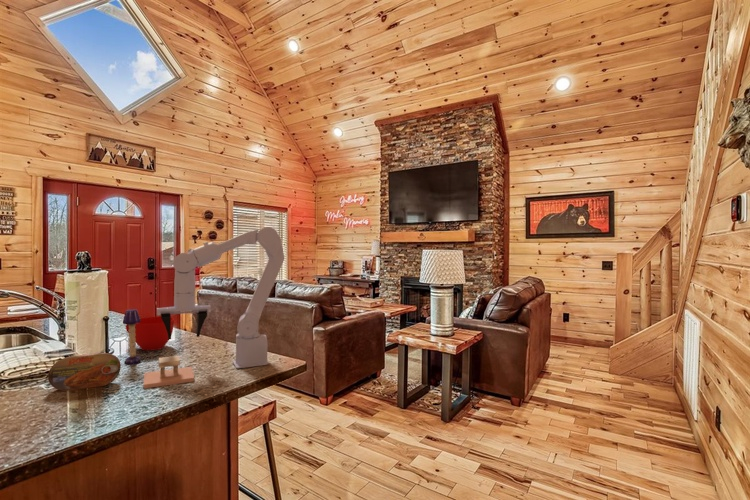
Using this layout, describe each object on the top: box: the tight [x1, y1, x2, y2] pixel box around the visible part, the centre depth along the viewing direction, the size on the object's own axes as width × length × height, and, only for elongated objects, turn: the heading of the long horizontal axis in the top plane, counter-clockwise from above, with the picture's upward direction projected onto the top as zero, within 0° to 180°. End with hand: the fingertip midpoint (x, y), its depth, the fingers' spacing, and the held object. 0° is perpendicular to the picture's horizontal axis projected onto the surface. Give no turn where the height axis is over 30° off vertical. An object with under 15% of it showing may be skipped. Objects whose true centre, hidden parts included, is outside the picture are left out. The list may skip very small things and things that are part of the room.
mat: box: [142, 366, 195, 389], centre depth 105 cm, size 12×10×1 cm
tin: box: [47, 352, 122, 392], centre depth 98 cm, size 15×3×8 cm, turn 117°
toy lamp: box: [122, 308, 142, 366], centre depth 118 cm, size 5×5×17 cm
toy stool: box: [158, 355, 181, 379], centre depth 105 cm, size 5×5×4 cm
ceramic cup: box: [125, 316, 175, 351], centre depth 134 cm, size 13×17×10 cm
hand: (184, 337), depth 114 cm, fingers open, 7 cm apart
